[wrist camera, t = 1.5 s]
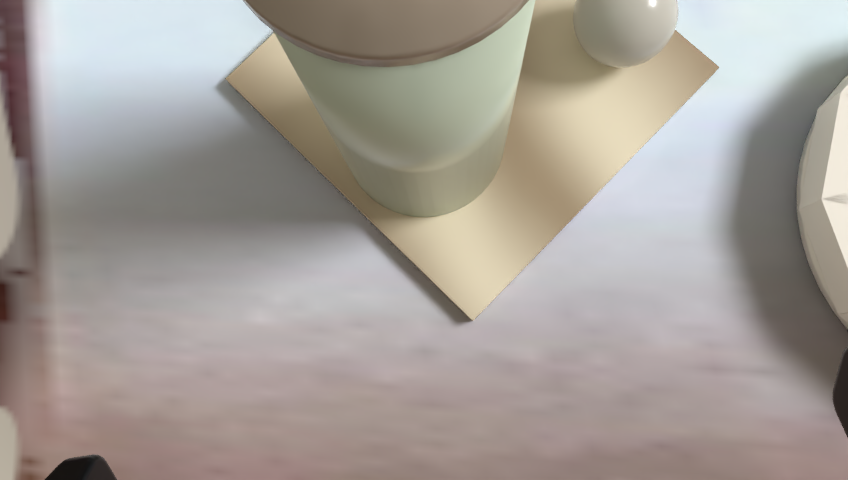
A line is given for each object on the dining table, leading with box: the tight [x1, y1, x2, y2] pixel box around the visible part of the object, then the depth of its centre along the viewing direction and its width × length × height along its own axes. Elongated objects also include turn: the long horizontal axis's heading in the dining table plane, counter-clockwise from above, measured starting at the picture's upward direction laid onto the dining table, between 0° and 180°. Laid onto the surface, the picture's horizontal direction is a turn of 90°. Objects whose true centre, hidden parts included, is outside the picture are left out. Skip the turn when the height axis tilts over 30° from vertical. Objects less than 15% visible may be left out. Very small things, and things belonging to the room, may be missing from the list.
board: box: [226, 0, 719, 321], centre depth 24 cm, size 11×11×1 cm
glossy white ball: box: [573, 0, 678, 68], centre depth 22 cm, size 3×3×3 cm
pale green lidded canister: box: [243, 0, 535, 217], centre depth 17 cm, size 5×5×12 cm
